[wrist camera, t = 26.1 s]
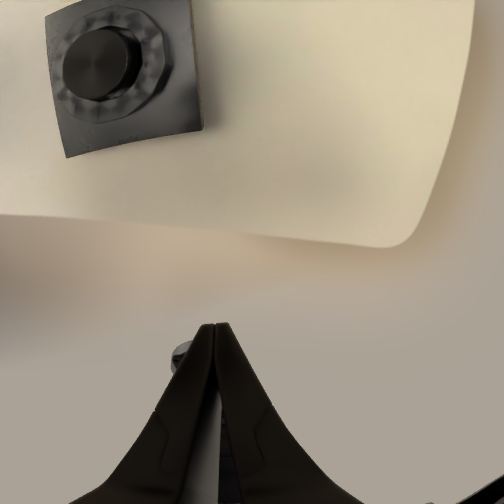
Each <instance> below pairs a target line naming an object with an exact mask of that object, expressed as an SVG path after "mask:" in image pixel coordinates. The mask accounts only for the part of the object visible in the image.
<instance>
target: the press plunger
mask: <svg viewBox="0 0 504 504" xmlns="http://www.w3.org/2000/svg"><path fill="white" fill-rule="evenodd" d="M137 65H138V52H137V48H136V46H135V44H134V43H133V41H132V40H131V39H130V38H129V37H127V36H126V35H124V34H122V33H118V32H115V31H111V30H108V29H96V30H92V31H89V32H87V33H85V34H83V35H81V36H80V37H79V38H77V39H76V40H75V41H74V42H73V43H72V45H71V46H70V47H69V49H68V51H67V52H66V55H65V57H64V60H63V65H62V76H63V80H64V83H65V85H66V87H67V88H68V90H69V91H70V92H71V93H73V94H74V95H75V96H77V97H80V98H83V99H95V98H100V97H103V96H106V95H110V94H113V93H115V92H118V91H119V90H121V89H122V88H123V87H125V86H126V85H127V84H128V83H129V81H130V80H131V79H132V77H133V76H134V74H135V71H136V69H137Z"/></svg>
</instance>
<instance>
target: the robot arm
mask: <svg viewBox="0 0 504 504" xmlns="http://www.w3.org/2000/svg"><path fill="white" fill-rule="evenodd" d="M172 362H173V364H174V366H175V368H176V371H175V373H174V375H173V377H172V379H171V380H170V382H169V384H168V386H167V388H166V389H165V391H164V393H163V395H162V397H161V399H160V401H159V402H158V404H157V406H156V408H155V411H154V412H153V413H152V415H151V417H150V418H149V420H148V422H147V424H146V426H145V427H144V429H143V430H142V432H141V434H140V435H139V437H138V438H137V440H136V441H135V443H134V444H133V445H132V447H131V448H130V450H129V451H128V452H127V454H126V455H125V456H124V458H123V459H122V461H121V462H120V463H119V465H118V466H117V467H116V469H115V470H114V471H113V473H112V474H111V475H110V477H109V478H108V479H107V480H106V481H105V482H104V483H103V484H102V485H100V486H99V487H98V488H96V489H94V490H93V491H91V492H89V493H87V494H85V495H84V496H82V497H80V498H78V499H76V500H74V501H73V502H71V503H69V504H364V503H362V502H361V501H359V500H358V499H356V498H355V497H353V496H352V495H350V494H349V493H348V492H346V491H345V490H343V489H342V488H341V487H339V486H338V485H336V484H335V483H334V482H333V481H332V480H331V479H330V478H329V477H328V476H326V474H325V473H324V472H323V471H322V470H321V469H320V468H319V467H318V466H317V465H316V463H315V462H314V461H313V460H312V459H311V458H310V456H309V455H308V454H307V453H306V452H305V450H304V449H303V448H302V447H301V446H300V445H299V443H298V442H297V441H296V440H295V438H294V437H293V436H292V434H291V433H290V432H289V430H288V429H287V428H286V426H285V424H284V423H283V421H282V420H281V418H280V416H279V415H278V413H277V411H276V410H275V408H274V406H273V405H272V403H271V401H270V399H269V397H268V396H267V394H266V392H265V390H264V389H263V387H262V385H261V383H260V381H259V380H258V378H257V376H256V374H255V372H254V371H253V369H252V367H251V365H250V363H249V361H248V359H247V357H246V356H245V354H244V352H243V350H242V348H241V346H240V344H239V342H238V340H237V339H236V337H235V335H234V333H233V331H232V329H231V327H230V325H229V323H226V322H225V323H216V324H215V325H214V324H204V325H201V327H200V328H199V330H198V332H197V334H196V335H195V337H194V339H193V341H192V343H191V344H190V346H189V348H188V350H187V352H186V353H185V354H180V355H173V356H172ZM427 504H433V503H427ZM456 504H504V475H502V476H500V477H499V478H497V479H495V480H494V481H492V482H491V483H489V484H487V485H486V486H484V487H483V488H481V489H480V490H478V491H477V492H475V493H473V494H472V495H470V496H468V497H467V498H465V499H463V500H462V501H460V502H458V503H456Z"/></svg>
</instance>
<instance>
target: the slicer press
mask: <svg viewBox="0 0 504 504" xmlns="http://www.w3.org/2000/svg"><path fill="white" fill-rule="evenodd" d="M45 28H46V43H47V54H48V64H49V72H50V80H51V86H52V93H53V99H54V105H55V110H56V115H57V120H58V125H59V130H60V134H61V139H62V143H63V147H64V151H65V155H66V158H70V157H73V156H77V155H80V154H84V153H88V152H92V151H96V150H100V149H104V148H108V147H112V146H117V145H121V144H126V143H131V142H135V141H140V140H146V139H151V138H156V137H162V136H168V135H174V134H180V133H187V132H194V131H201V130H203V127H204V122H203V114H202V105H201V96H200V87H199V78H198V68H197V58H196V48H195V37H194V26H193V14H192V2H191V0H82V1H79V2H77V3H74V4H72V5H70V6H67V7H65V8H63V9H61V10H59V11H56V12H54V13H52V14H50V15H48V16H46V17H45ZM96 29H108V30H111V31H115V32H118V33H122V34H124V35H126V36H127V37H129V38H130V39H131V40H132V41H133V43H134V44H135V46H136V48H137V52H138V65H137V69H136V71H135V74H134V76H133V77H132V79H131V80H130V81H129V83H128V84H127V85H126V86H125V87H123V88H122V89H121V90H119V91H118V92H115V93H113V94H110V95H106V96H103V97H100V98H95V99H83V98H80V97H77V96H75V95H74V94H73V93H71V92H70V91H69V90H68V88H67V87H66V85H65V83H64V80H63V76H62V65H63V60H64V57H65V55H66V52H67V51H68V49H69V47H70V46H71V45H72V43H73V42H74V41H75V40H76V39H77V38H79V37H80V36H81V35H83V34H85V33H87V32H89V31H92V30H96Z"/></svg>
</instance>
